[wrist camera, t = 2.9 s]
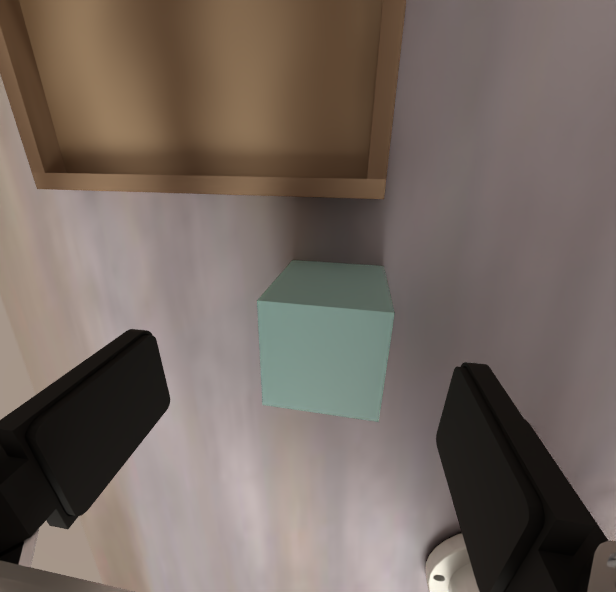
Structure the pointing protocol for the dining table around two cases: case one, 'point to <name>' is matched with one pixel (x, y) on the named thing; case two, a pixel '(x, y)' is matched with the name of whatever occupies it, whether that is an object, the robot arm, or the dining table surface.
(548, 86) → the dining table surface
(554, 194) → the dining table surface
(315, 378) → the teal block
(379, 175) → the walnut tray
